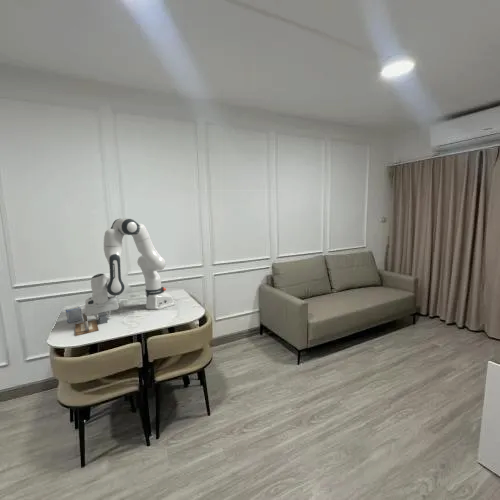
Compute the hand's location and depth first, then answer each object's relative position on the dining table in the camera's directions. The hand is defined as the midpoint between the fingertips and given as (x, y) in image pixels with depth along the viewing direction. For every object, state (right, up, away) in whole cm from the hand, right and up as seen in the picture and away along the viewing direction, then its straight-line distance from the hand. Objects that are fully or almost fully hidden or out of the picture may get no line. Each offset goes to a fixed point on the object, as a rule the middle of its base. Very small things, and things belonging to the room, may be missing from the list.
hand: (103, 318), depth 188 cm
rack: (-5, -4, -10) cm, 12 cm away
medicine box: (-21, -3, +3) cm, 21 cm away
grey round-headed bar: (0, -2, +1) cm, 2 cm away
